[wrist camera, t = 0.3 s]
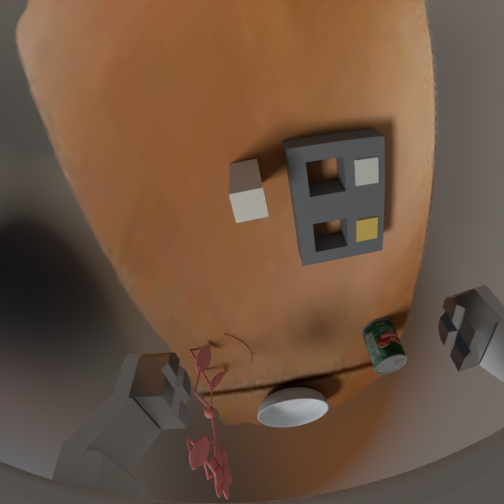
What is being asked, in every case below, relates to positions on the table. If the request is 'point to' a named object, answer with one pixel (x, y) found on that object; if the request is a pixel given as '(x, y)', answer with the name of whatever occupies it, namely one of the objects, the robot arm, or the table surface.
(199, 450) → the figurine
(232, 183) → the plug
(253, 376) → the table surface
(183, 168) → the table surface
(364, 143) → the socket block
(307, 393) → the serving bowl
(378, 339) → the canned tomato
